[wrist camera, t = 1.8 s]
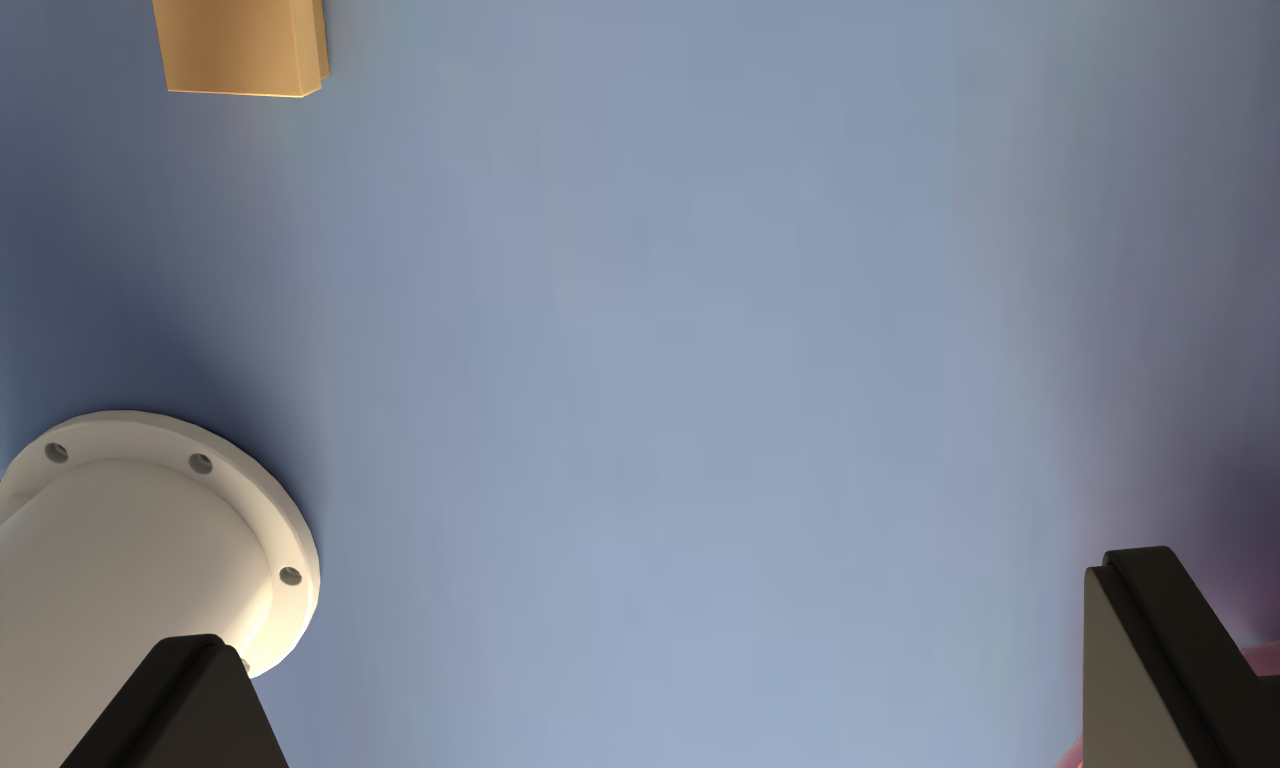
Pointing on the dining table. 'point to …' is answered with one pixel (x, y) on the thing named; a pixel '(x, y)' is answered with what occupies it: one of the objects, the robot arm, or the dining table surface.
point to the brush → (242, 46)
